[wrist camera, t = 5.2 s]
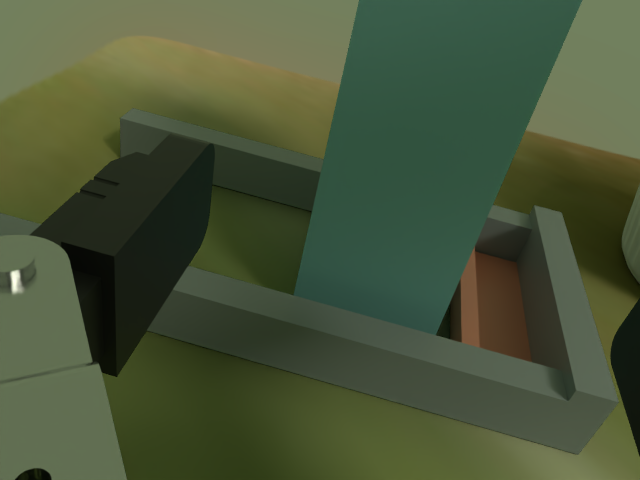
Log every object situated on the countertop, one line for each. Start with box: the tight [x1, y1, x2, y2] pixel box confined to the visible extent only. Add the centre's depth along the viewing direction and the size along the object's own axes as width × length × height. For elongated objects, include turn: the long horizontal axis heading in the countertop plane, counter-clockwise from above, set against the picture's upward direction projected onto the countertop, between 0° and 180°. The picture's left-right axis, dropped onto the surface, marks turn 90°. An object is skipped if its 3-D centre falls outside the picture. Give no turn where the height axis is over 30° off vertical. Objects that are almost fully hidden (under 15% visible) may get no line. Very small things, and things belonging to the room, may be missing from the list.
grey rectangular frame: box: [0, 108, 619, 454], centre depth 21 cm, size 19×10×2 cm, turn 79°
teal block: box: [294, 0, 582, 335], centre depth 18 cm, size 5×5×14 cm
